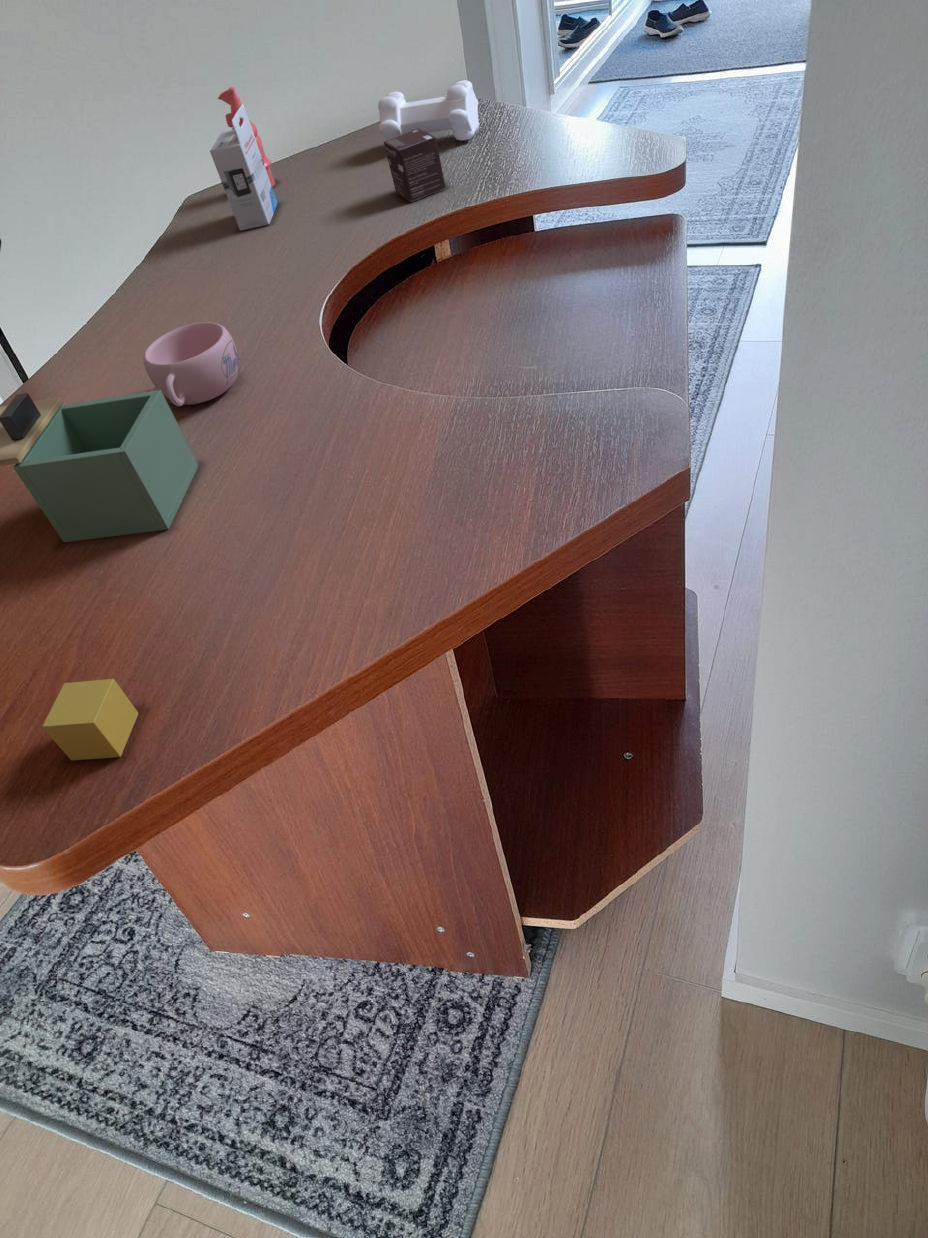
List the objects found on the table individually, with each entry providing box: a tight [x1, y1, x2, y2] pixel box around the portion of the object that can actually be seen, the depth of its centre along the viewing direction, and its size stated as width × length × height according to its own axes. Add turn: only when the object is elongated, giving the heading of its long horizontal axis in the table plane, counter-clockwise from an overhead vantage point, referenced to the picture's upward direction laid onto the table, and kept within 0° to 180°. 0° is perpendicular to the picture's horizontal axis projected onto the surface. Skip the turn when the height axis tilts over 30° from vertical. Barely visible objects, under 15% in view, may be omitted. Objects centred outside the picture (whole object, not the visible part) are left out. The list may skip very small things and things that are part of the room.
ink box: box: [209, 103, 278, 231], centre depth 134 cm, size 9×5×15 cm, turn 179°
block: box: [42, 678, 139, 761], centre depth 65 cm, size 4×4×4 cm
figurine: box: [217, 86, 276, 188], centre depth 145 cm, size 5×5×15 cm
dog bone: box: [377, 79, 480, 141], centre depth 145 cm, size 15×9×8 cm, turn 76°
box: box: [383, 129, 447, 203], centre depth 130 cm, size 6×6×7 cm
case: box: [13, 389, 199, 543], centre depth 85 cm, size 10×11×9 cm
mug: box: [143, 321, 239, 407], centre depth 99 cm, size 12×10×6 cm
